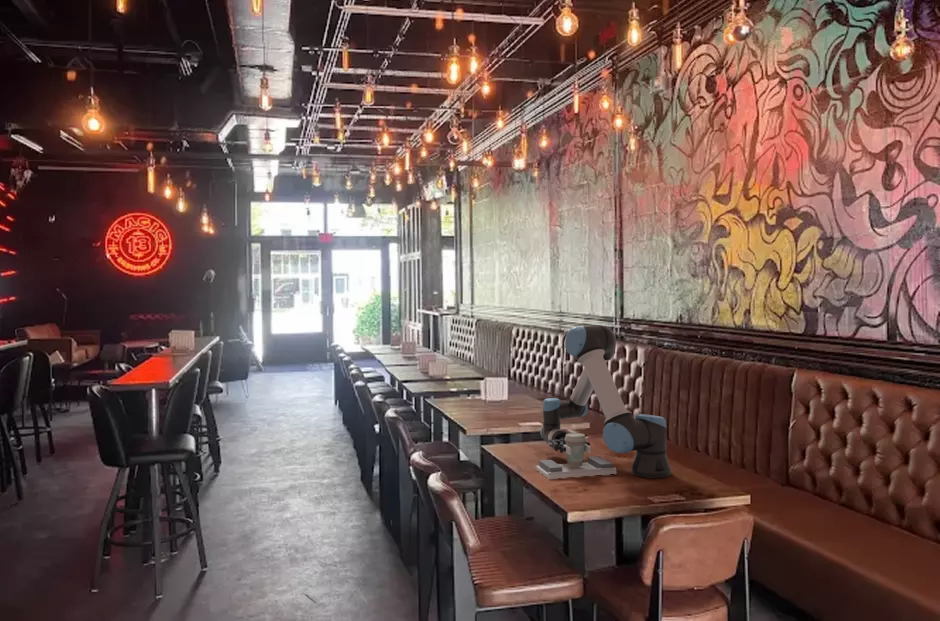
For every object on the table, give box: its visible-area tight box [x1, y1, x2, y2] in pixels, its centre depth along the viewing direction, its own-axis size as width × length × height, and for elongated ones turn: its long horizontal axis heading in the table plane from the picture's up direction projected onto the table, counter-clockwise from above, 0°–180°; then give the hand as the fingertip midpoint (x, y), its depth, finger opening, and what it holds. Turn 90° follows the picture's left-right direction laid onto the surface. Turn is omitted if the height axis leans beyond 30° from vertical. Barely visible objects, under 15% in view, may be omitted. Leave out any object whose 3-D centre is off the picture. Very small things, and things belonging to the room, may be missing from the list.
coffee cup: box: [565, 432, 587, 466], centre depth 293 cm, size 8×8×12 cm
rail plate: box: [535, 455, 617, 480], centre depth 293 cm, size 28×16×4 cm, turn 103°
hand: (579, 450), depth 288 cm, fingers closed on coffee cup, 8 cm apart
